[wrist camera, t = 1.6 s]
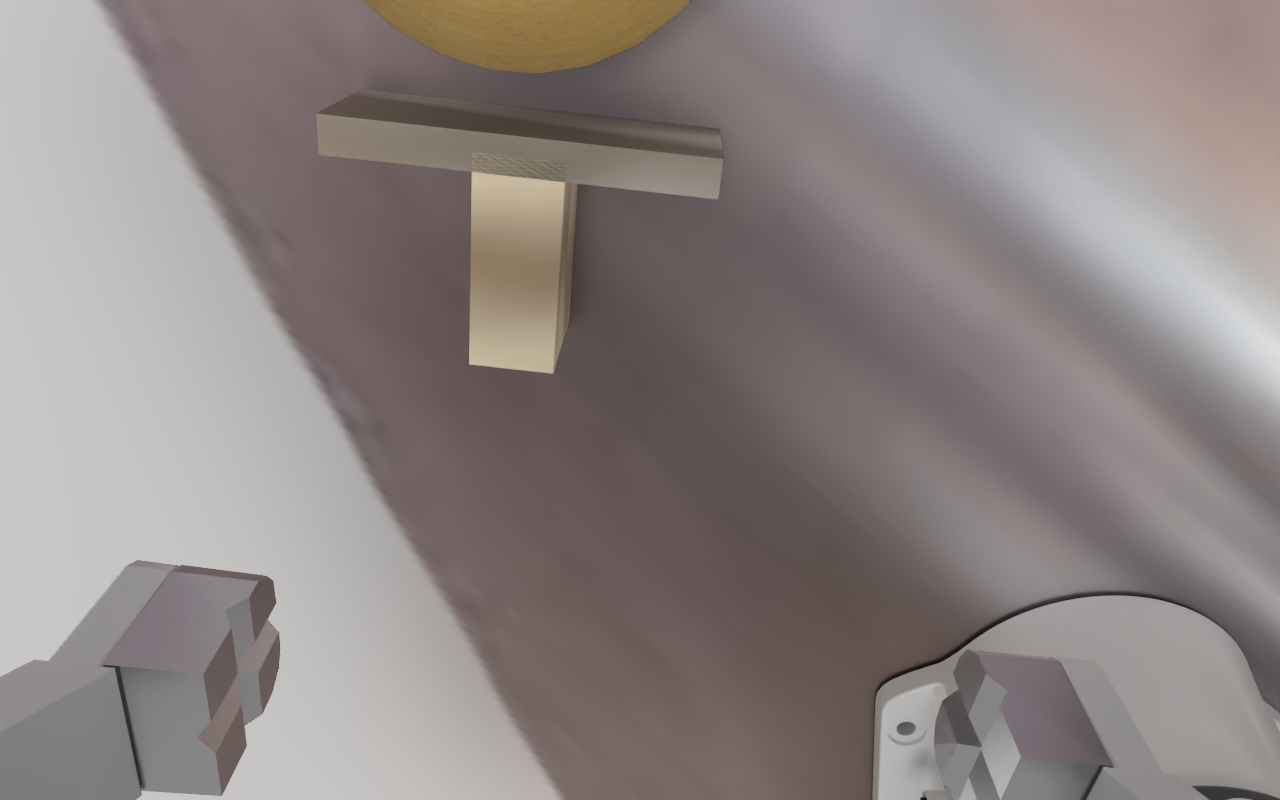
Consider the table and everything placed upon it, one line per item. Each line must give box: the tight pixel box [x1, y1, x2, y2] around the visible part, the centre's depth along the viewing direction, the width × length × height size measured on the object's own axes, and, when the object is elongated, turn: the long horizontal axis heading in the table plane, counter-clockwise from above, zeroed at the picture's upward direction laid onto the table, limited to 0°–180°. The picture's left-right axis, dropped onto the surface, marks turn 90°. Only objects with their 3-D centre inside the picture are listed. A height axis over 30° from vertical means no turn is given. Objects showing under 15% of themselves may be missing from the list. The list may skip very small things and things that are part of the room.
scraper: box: [316, 89, 724, 374], centre depth 31 cm, size 8×12×4 cm, turn 84°
